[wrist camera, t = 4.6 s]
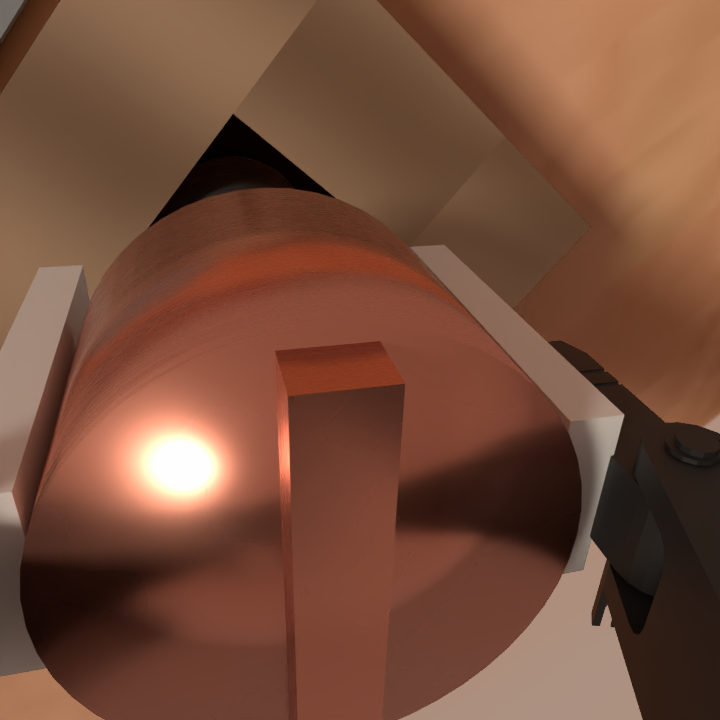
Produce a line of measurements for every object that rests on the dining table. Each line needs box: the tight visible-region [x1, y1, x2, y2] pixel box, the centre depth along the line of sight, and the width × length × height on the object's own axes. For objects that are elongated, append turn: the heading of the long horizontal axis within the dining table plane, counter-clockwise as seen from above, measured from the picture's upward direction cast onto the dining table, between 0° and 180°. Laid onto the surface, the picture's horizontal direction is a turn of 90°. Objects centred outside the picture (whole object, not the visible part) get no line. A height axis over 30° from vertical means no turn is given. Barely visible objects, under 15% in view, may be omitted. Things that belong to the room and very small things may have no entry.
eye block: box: [0, 0, 591, 350], centre depth 17 cm, size 12×12×5 cm
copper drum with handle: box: [20, 156, 582, 720], centre depth 13 cm, size 6×6×14 cm
